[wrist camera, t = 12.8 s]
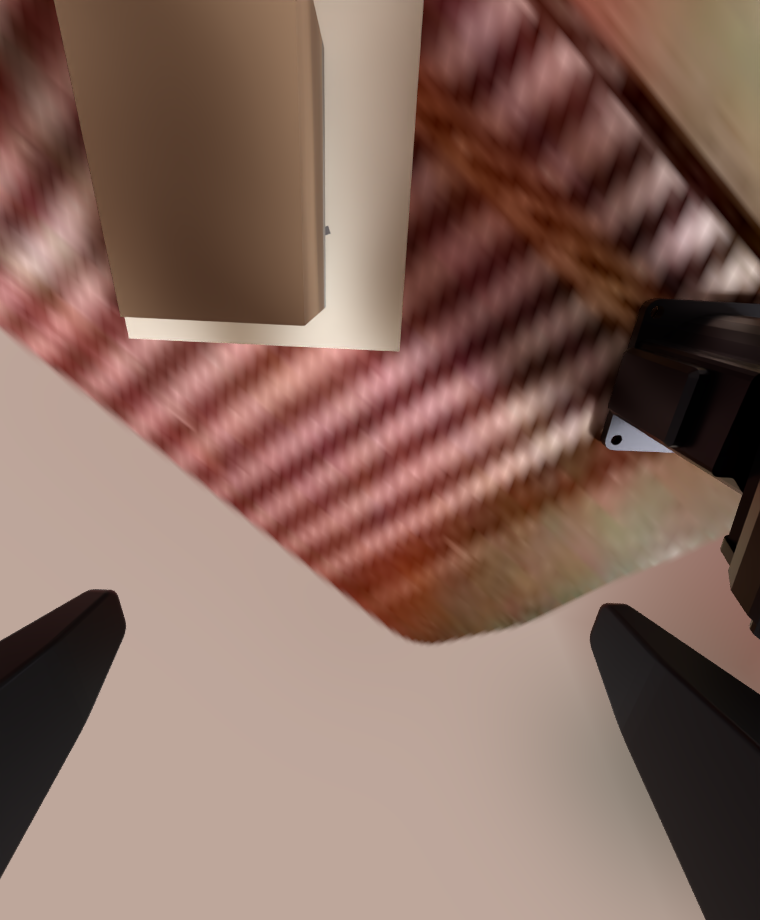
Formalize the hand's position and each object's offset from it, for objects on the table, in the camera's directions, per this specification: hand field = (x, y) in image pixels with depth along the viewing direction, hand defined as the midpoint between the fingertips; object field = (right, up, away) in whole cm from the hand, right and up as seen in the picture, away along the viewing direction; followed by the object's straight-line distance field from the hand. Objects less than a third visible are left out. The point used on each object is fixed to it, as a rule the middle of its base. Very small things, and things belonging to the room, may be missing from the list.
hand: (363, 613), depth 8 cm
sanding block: (-4, +12, +5) cm, 13 cm away
